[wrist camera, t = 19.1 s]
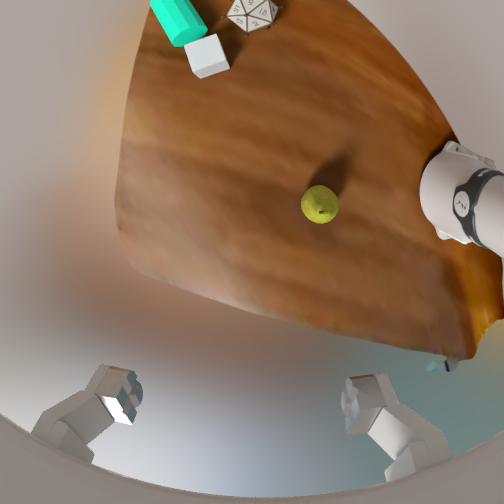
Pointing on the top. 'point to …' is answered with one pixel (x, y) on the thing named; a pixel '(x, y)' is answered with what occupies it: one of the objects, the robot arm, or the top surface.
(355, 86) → the top surface
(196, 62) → the grey block
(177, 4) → the candle
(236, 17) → the game die
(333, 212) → the fruit
